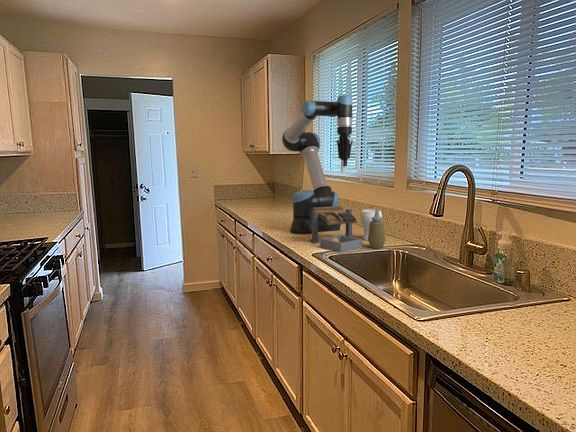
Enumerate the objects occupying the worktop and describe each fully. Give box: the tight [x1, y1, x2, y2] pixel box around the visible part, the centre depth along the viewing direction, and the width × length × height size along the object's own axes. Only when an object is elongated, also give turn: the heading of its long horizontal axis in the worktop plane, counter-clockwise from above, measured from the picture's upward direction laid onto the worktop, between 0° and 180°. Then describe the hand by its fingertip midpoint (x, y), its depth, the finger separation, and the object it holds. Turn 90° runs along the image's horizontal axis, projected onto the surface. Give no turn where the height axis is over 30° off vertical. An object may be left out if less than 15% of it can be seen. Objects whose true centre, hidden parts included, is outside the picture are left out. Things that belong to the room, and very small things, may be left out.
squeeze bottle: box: [368, 208, 386, 249], centre depth 197 cm, size 8×8×18 cm
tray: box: [319, 234, 363, 253], centre depth 198 cm, size 14×14×4 cm
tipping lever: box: [310, 205, 358, 233], centre depth 213 cm, size 18×16×14 cm
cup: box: [360, 209, 383, 242], centre depth 215 cm, size 11×11×15 cm
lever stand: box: [309, 208, 356, 244], centre depth 214 cm, size 5×24×16 cm, turn 112°
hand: (344, 172), depth 220 cm, fingers closed
